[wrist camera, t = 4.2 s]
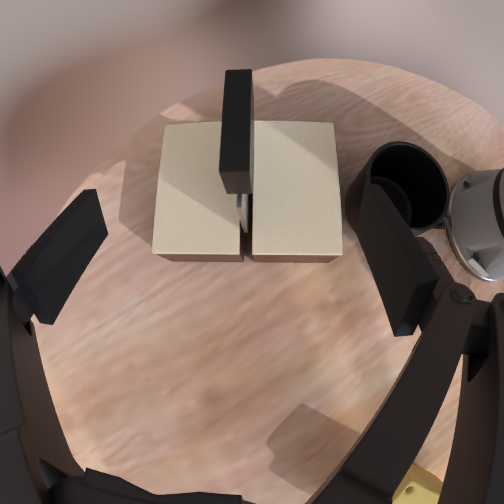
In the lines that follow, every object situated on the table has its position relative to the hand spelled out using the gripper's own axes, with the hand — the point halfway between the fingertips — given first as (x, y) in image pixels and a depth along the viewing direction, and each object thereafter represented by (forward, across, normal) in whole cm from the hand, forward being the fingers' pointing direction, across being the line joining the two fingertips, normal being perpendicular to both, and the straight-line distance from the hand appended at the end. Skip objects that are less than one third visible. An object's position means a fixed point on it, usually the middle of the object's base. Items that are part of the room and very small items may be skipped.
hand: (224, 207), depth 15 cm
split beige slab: (+20, 0, -10) cm, 22 cm away
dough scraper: (+15, 0, -6) cm, 16 cm away
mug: (+19, +17, -11) cm, 28 cm away
